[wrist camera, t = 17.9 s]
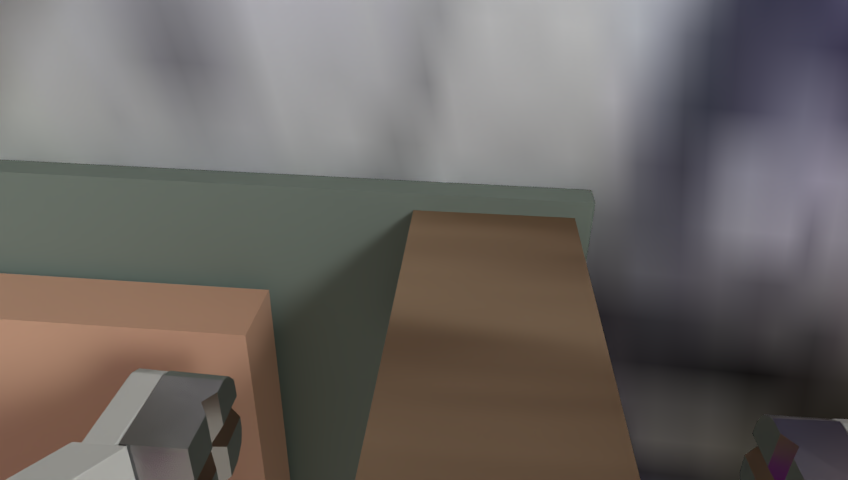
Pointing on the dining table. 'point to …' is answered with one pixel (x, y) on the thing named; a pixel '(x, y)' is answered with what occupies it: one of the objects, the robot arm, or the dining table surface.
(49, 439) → the tile
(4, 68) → the dining table surface
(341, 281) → the mat
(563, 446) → the walnut block
